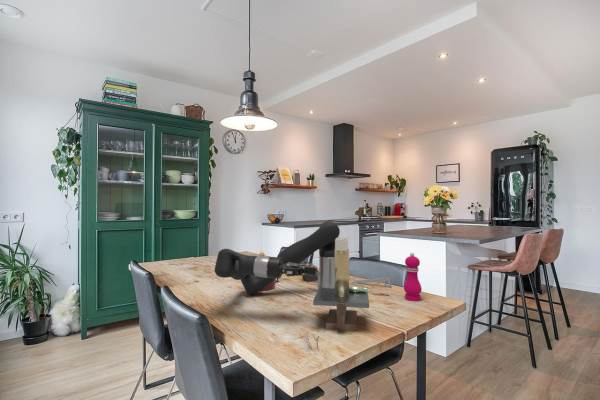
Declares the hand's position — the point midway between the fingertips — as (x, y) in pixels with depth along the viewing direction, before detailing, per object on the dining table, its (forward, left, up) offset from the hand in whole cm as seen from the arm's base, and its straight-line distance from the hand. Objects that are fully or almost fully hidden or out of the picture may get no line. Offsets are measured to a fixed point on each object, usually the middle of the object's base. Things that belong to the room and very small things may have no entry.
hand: (315, 271), depth 110 cm
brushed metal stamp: (+8, +4, -10) cm, 13 cm away
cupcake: (-31, +52, -18) cm, 62 cm away
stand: (+8, +4, -18) cm, 20 cm away
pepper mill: (+24, +44, -18) cm, 53 cm away
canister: (-44, +26, -18) cm, 54 cm away
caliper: (+1, +58, -18) cm, 60 cm away
